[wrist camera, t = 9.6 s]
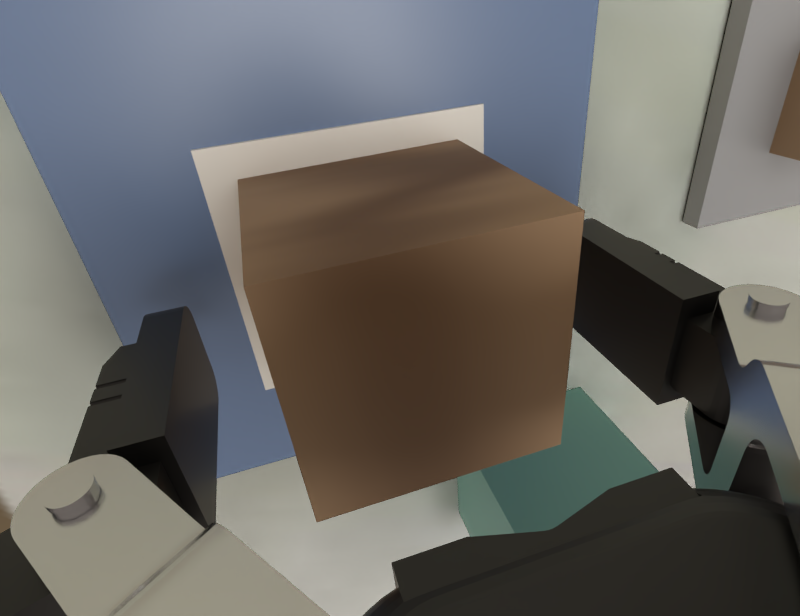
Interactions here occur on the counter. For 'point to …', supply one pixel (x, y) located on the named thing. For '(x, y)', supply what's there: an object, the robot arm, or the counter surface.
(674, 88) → the counter surface
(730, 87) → the stacked block model
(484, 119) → the board
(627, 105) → the counter surface
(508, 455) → the walnut cube
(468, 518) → the teal cube
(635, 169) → the counter surface
